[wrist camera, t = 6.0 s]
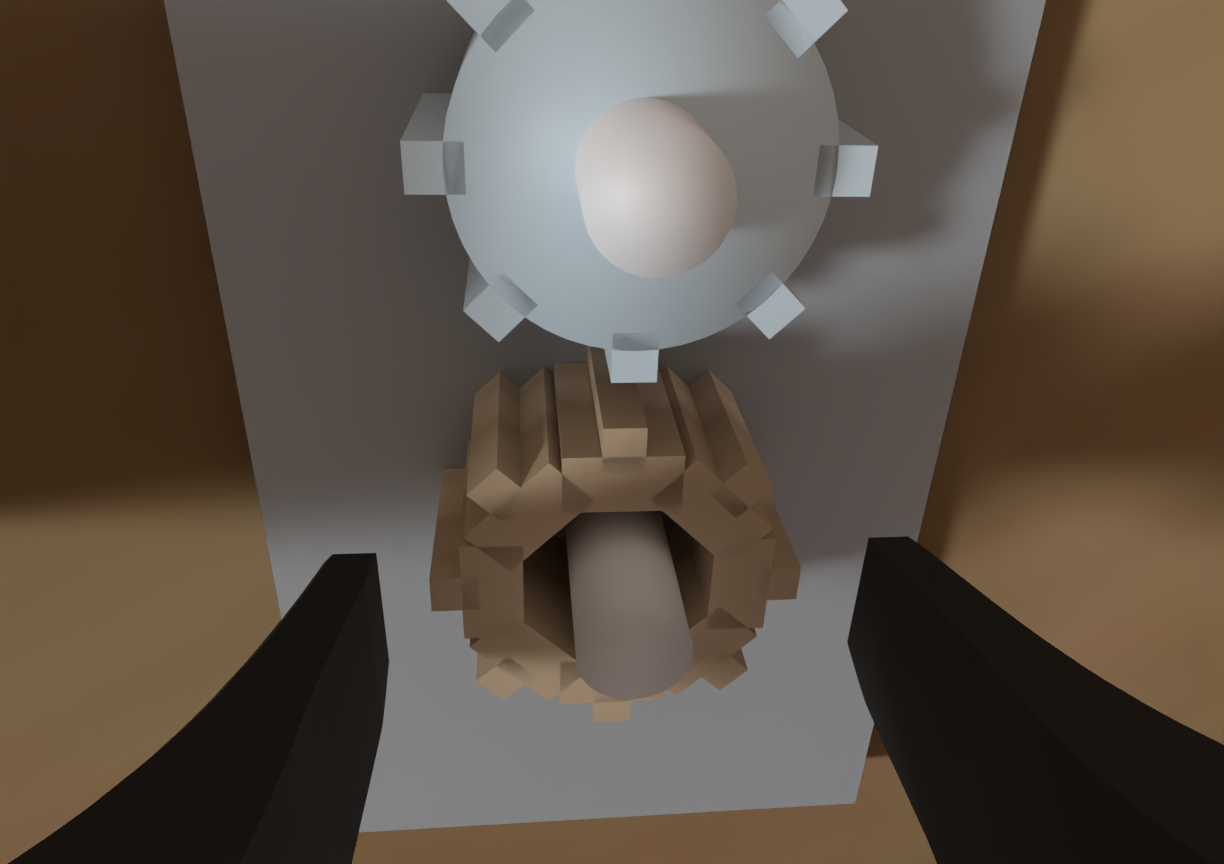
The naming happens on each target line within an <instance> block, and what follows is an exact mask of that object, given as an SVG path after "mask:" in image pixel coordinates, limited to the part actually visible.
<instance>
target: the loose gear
mask: <svg viewBox="0 0 1224 864" xmlns="http://www.w3.org/2000/svg"><path fill="white" fill-rule="evenodd" d="M773 489H774V488H773V485H772V483H771V481H770V479H769V476H768V474H767V472H766V470H765V467H764V465H763V463H762V461H761V458H760V456H759V454H758V451H757V449H756V447H755V445H754V442H753V440H752V438H751V436H750V433H749V431H748V429H747V427H746V424H745V422H744V420H743V418H742V415H741V413H740V411H739V409H738V406H737V404H736V402H735V400H734V397H733V395H732V393H731V391H730V390H729V389H728V388H727V387H726V386H725V385H724V384H723V383H722V382H721V381H720V380H719V379H718V378H717V377H716V376H715V375H714V374H713V373H712V372H711V371H710V370H708V371H706V372H705V373H704V374H703V375H702V376H701V377H699V378H698V379H697V380H696V381H695V382H693V383H692V384H691V385H690V386H689V387H688V386H687V385H686V384H685V383H684V382H683V381H682V380H681V379H680V378H679V377H678V376H677V375H676V374H675V373H674V372H673V371H672V370H670V369H669V368H668V367H665V368H664V369H663V370H662V371H661V372H660V371H659V368H658V370H657V382H644V383H611V380H610V375H609V370H608V365H607V360H606V355H605V350H604V349H603V348H597V347H592V346H588V358H587V363H554V376H552V375H551V374H550V373H549V372H548V371H547V370H546V369H545V368H542V369H541V370H540V371H538V372H537V373H536V374H535V375H534V376H533V377H532V378H531V379H530V380H529V381H527V382H526V383H525V384H524V385H523V386H522V387H521V388H520V389H519V388H518V387H517V386H516V385H515V384H514V383H512V382H511V381H510V380H509V379H508V378H507V377H506V376H504V375H503V374H502V373H501V372H499V373H498V374H497V375H495V376H494V377H493V378H492V379H491V380H490V381H489V382H488V383H487V384H486V385H485V386H484V387H483V388H481V389H480V390H479V391H478V392H477V393H476V394H475V395H474V408H473V420H472V432H471V441H468V448H467V459H466V469H443V473H442V481H441V489H440V497H439V505H438V513H437V521H436V529H435V537H434V545H433V553H432V560H431V568H430V576H429V584H430V596H431V609H432V611H461V610H463V626H464V639H468V638H470V648H471V649H473V650H474V651H476V652H477V673H476V682H478V683H479V684H481V685H482V686H484V687H485V688H487V689H488V690H490V691H491V692H493V693H494V694H496V695H497V696H499V697H500V698H502V699H503V700H505V699H506V698H507V697H509V696H510V695H511V694H512V693H514V692H515V691H516V690H517V689H519V688H520V687H521V686H523V685H526V686H527V687H529V688H530V689H532V690H533V691H535V692H536V693H538V694H539V695H540V696H542V697H543V698H545V699H546V700H548V701H550V700H551V699H552V698H554V697H555V696H556V695H558V694H559V698H560V704H572V703H592V713H593V723H595V722H616V721H630V712H631V701H641V700H664V699H665V693H666V690H665V691H663V692H661V693H658V694H656V695H653V696H649V697H645V698H640V699H618V698H613V697H609V696H606V695H603V694H601V693H599V692H597V691H595V690H594V689H592V688H591V687H590V686H589V685H587V684H586V682H585V681H584V680H583V679H582V677H581V676H580V674H579V671H578V669H577V665H576V652H575V640H574V628H573V615H572V603H571V591H570V579H569V566H568V554H567V544H565V543H564V542H563V541H562V540H560V539H559V538H558V537H556V536H555V534H556V533H557V532H558V531H559V530H561V529H562V528H563V527H564V526H565V525H567V524H568V523H569V522H570V521H571V520H573V519H574V518H575V517H576V516H577V515H579V514H580V513H589V512H631V511H663V512H664V513H666V514H667V515H666V516H665V517H663V518H662V519H663V523H664V527H665V531H666V535H667V540H668V544H669V548H670V552H671V556H672V560H673V565H674V569H675V573H676V577H677V581H678V585H679V589H680V594H681V598H682V602H683V606H684V610H685V614H686V619H687V623H688V627H689V631H690V635H691V639H692V644H693V657H692V661H691V664H690V666H689V668H688V670H687V672H686V673H685V674H684V676H683V677H682V678H681V679H680V680H679V681H678V682H677V683H675V684H674V685H673V686H671V687H670V688H668V690H669V691H670V692H672V693H673V694H674V695H678V694H679V693H680V692H682V691H683V690H684V689H686V688H687V687H689V686H690V685H691V684H693V683H694V682H695V681H697V680H698V679H700V678H701V677H702V678H704V679H705V680H706V681H708V682H709V683H710V684H711V685H713V686H714V687H715V688H717V689H718V690H719V691H720V690H721V689H722V688H724V687H725V686H727V685H728V684H729V683H731V682H732V681H734V680H735V679H736V678H738V677H739V676H741V675H742V674H743V673H745V672H746V671H747V670H748V669H747V666H746V662H745V659H744V656H743V652H742V649H741V648H742V647H743V646H745V645H746V644H748V643H749V642H750V641H752V640H753V639H754V638H756V637H757V634H756V631H755V628H763V624H764V618H765V611H766V604H767V600H788V599H796V596H797V590H798V584H799V578H800V572H801V566H800V564H799V562H798V559H797V557H796V555H795V552H794V550H793V548H792V546H791V543H790V541H789V539H788V536H787V534H786V532H785V529H784V527H783V525H782V522H781V520H780V518H779V515H778V513H777V511H776V508H775V506H774V504H773V501H772V499H771V497H770V494H769V492H770V491H772V490H773Z"/></svg>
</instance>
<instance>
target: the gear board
mask: <svg viewBox="0 0 1224 864" xmlns="http://www.w3.org/2000/svg"><path fill="white" fill-rule="evenodd" d="M1045 2H1046V0H164V4H165V9H166V15H167V20H168V25H169V30H170V36H171V41H172V46H173V51H174V57H175V62H176V67H177V72H178V78H179V83H180V88H181V93H182V99H183V104H184V109H185V114H186V120H187V125H188V130H189V135H190V140H191V146H192V151H193V156H194V161H195V167H196V172H197V177H198V182H199V188H200V193H201V198H202V203H203V209H204V214H205V219H206V224H207V230H208V235H209V240H210V245H211V251H212V256H213V261H214V266H215V272H216V277H217V282H218V287H219V293H220V298H221V303H222V308H223V314H224V319H225V324H226V329H227V335H228V340H229V345H230V350H231V356H232V361H233V366H234V371H235V376H236V382H237V387H238V392H239V397H240V403H241V408H242V413H243V418H244V424H245V429H246V434H247V439H248V445H249V450H250V455H251V460H252V466H253V471H254V476H255V481H256V487H257V492H258V497H259V502H260V508H261V513H262V518H263V523H264V529H265V534H266V539H267V544H268V550H269V555H270V560H271V565H272V571H273V576H274V581H275V586H276V591H277V597H278V602H279V607H280V612H281V618H283V617H284V616H285V614H286V613H287V612H288V611H289V609H290V608H291V607H292V605H293V604H294V603H295V602H296V600H297V599H298V598H299V596H300V595H301V594H302V592H303V591H304V590H305V588H306V587H307V586H308V584H309V583H310V581H311V580H312V579H313V577H314V576H315V575H316V573H317V572H318V570H319V569H320V568H321V566H322V565H323V563H324V562H325V561H326V560H327V559H328V558H329V557H330V556H331V555H332V554H356V553H376V555H377V563H378V572H379V580H380V588H381V597H382V605H383V614H384V622H385V630H386V639H387V647H388V655H389V668H388V679H387V689H386V699H385V709H384V718H383V726H382V731H381V736H380V740H379V745H378V749H377V754H376V758H375V763H374V767H373V772H372V776H371V781H370V785H369V789H368V794H367V798H366V802H365V807H364V811H363V816H362V820H361V824H360V829H359V832H372V831H389V830H406V829H424V828H441V827H458V826H475V825H492V824H509V823H526V822H543V821H560V820H577V819H594V818H611V817H628V816H645V815H662V814H679V813H696V812H713V811H730V810H747V809H764V808H781V807H798V806H815V805H832V804H849V803H855V801H856V797H857V793H858V789H859V784H860V780H861V776H862V772H863V768H864V763H865V759H866V755H867V751H868V747H869V742H870V738H871V734H872V730H873V726H874V721H873V719H872V717H871V715H870V712H869V710H868V708H867V705H866V703H865V700H864V697H863V694H862V691H861V688H860V684H859V681H858V678H857V675H856V671H855V668H854V664H853V661H852V657H851V654H850V650H849V647H848V643H847V640H848V635H849V631H850V626H851V621H852V616H853V611H854V606H855V601H856V596H857V592H858V587H859V582H860V577H861V572H862V567H863V562H864V557H865V553H866V548H867V543H868V538H873V537H905V536H908V537H910V538H911V539H913V540H914V541H915V542H917V541H918V536H919V532H920V528H921V524H922V520H923V515H924V511H925V507H926V503H927V499H928V494H929V490H930V486H931V482H932V478H933V473H934V469H935V465H936V461H937V457H938V452H939V448H940V444H941V440H942V435H943V431H944V427H945V423H946V419H947V414H948V410H949V406H950V402H951V398H952V393H953V389H954V385H955V381H956V377H957V372H958V368H959V364H960V360H961V356H962V351H963V347H964V343H965V339H966V335H967V330H968V326H969V322H970V318H971V314H972V309H973V305H974V301H975V297H976V293H977V288H978V284H979V280H980V276H981V272H982V267H983V263H984V259H985V255H986V251H987V246H988V242H989V238H990V234H991V230H992V225H993V221H994V217H995V213H996V208H997V204H998V200H999V196H1000V192H1001V187H1002V183H1003V179H1004V175H1005V171H1006V166H1007V162H1008V158H1009V154H1010V150H1011V145H1012V141H1013V137H1014V133H1015V129H1016V124H1017V120H1018V116H1019V112H1020V108H1021V103H1022V99H1023V95H1024V91H1025V87H1026V82H1027V78H1028V74H1029V70H1030V66H1031V61H1032V57H1033V53H1034V49H1035V45H1036V40H1037V36H1038V32H1039V28H1040V24H1041V19H1042V15H1043V11H1044V7H1045ZM588 346H592V347H597V348H603V349H604V350H605V355H606V360H607V365H608V370H609V375H610V380H611V383H644V382H657V370H658V368H659V371H660V372H661V371H662V370H663V369H664V368H665V367H668V368H669V369H670V370H672V371H673V372H674V373H675V374H676V375H677V376H678V377H679V378H680V379H681V380H682V381H683V382H684V383H685V384H686V385H687V386H688V387H689V386H690V385H691V384H692V383H693V382H695V381H696V380H697V379H698V378H699V377H701V376H702V375H703V374H704V373H705V372H706V371H708V370H710V371H711V372H712V373H713V374H714V375H715V376H716V377H717V378H718V379H719V380H720V381H721V382H722V383H723V384H724V385H725V386H726V387H727V388H728V389H729V390H730V391H731V393H732V395H733V397H734V400H735V402H736V404H737V406H738V409H739V411H740V413H741V415H742V418H743V420H744V422H745V424H746V427H747V429H748V431H749V433H750V436H751V438H752V440H753V442H754V445H755V447H756V449H757V451H758V454H759V456H760V458H761V461H762V463H763V465H764V467H765V470H766V472H767V474H768V476H769V479H770V481H771V483H772V485H773V488H774V489H773V490H772V491H770V492H769V494H770V497H771V499H772V501H773V504H774V506H775V508H776V511H777V513H778V515H779V518H780V520H781V522H782V525H783V527H784V529H785V532H786V534H787V536H788V539H789V541H790V543H791V546H792V548H793V550H794V552H795V555H796V557H797V559H798V562H799V564H800V566H801V572H800V578H799V584H798V590H797V596H796V599H788V600H767V604H766V611H765V618H764V624H763V628H755V631H756V634H757V637H756V638H754V639H753V640H752V641H750V642H749V643H748V644H746V645H745V646H743V647H742V648H741V649H742V652H743V656H744V659H745V662H746V666H747V669H748V670H747V671H746V672H745V673H743V674H742V675H741V676H739V677H738V678H736V679H735V680H734V681H732V682H731V683H729V684H728V685H727V686H725V687H724V688H722V689H721V690H720V691H719V690H718V689H717V688H715V687H714V686H713V685H711V684H710V683H709V682H708V681H706V680H705V679H704V678H702V677H701V678H700V679H698V680H697V681H695V682H694V683H693V684H691V685H690V686H689V687H687V688H686V689H684V690H683V691H682V692H680V693H679V694H678V695H674V694H673V693H672V692H670V691H669V690H668V688H670V687H671V686H673V685H674V684H675V683H677V682H678V681H679V680H680V679H681V678H682V677H683V676H684V674H685V673H686V672H687V670H688V668H689V666H690V664H691V661H692V657H693V644H692V639H691V635H690V631H689V627H688V623H687V619H686V614H685V610H684V606H683V602H682V598H681V594H680V589H679V585H678V581H677V577H676V573H675V569H674V565H673V560H672V556H671V552H670V548H669V544H668V540H667V535H666V531H665V527H664V523H663V519H662V518H663V517H665V516H666V515H667V514H666V513H664V512H663V511H631V512H589V513H580V514H579V515H577V516H576V517H575V518H574V519H573V520H571V521H570V522H569V523H568V524H567V525H565V526H564V527H563V528H562V529H561V530H559V531H558V532H557V533H556V534H555V536H556V537H558V538H559V539H560V540H562V541H563V542H564V543H565V544H567V554H568V566H569V579H570V591H571V603H572V615H573V628H574V640H575V652H576V665H577V669H578V671H579V674H580V676H581V677H582V679H583V680H584V681H585V682H586V684H587V685H589V686H590V687H591V688H592V689H594V690H595V691H597V692H599V693H601V694H603V695H606V696H609V697H613V698H618V699H640V698H645V697H649V696H653V695H656V694H658V693H661V692H663V691H665V690H666V693H665V699H664V700H641V701H631V712H630V721H616V722H595V723H593V713H592V703H572V704H560V698H559V694H558V695H556V696H555V697H554V698H552V699H551V700H550V701H548V700H546V699H545V698H543V697H542V696H540V695H539V694H538V693H536V692H535V691H533V690H532V689H530V688H529V687H527V686H526V685H523V686H521V687H520V688H519V689H517V690H516V691H515V692H514V693H512V694H511V695H510V696H509V697H507V698H506V699H505V700H503V699H502V698H500V697H499V696H497V695H496V694H494V693H493V692H491V691H490V690H488V689H487V688H485V687H484V686H482V685H481V684H479V683H478V682H476V673H477V652H476V651H474V650H473V649H471V648H470V638H468V639H464V626H463V610H461V611H432V609H431V596H430V584H429V576H430V568H431V560H432V553H433V545H434V537H435V529H436V521H437V513H438V505H439V497H440V489H441V481H442V473H443V469H466V459H467V448H468V441H471V432H472V420H473V408H474V395H475V394H476V393H477V392H478V391H479V390H480V389H481V388H483V387H484V386H485V385H486V384H487V383H488V382H489V381H490V380H491V379H492V378H493V377H494V376H495V375H497V374H498V373H499V372H501V373H502V374H503V375H504V376H506V377H507V378H508V379H509V380H510V381H511V382H512V383H514V384H515V385H516V386H517V387H518V388H519V389H520V388H521V387H522V386H523V385H524V384H525V383H526V382H527V381H529V380H530V379H531V378H532V377H533V376H534V375H535V374H536V373H537V372H538V371H540V370H541V369H542V368H545V369H546V370H547V371H548V372H549V373H550V374H551V375H552V376H554V363H587V358H588Z"/></svg>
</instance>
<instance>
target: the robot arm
mask: <svg viewBox="0 0 1224 864" xmlns="http://www.w3.org/2000/svg"><path fill="white" fill-rule="evenodd" d="M847 643H848V647H849V650H850V654H851V657H852V661H853V664H854V668H855V671H856V675H857V678H858V681H859V684H860V688H861V691H862V694H863V697H864V700H865V703H866V705H867V708H868V710H869V712H870V715H871V717H872V719H873V721H874V724H875V726H876V728H877V730H878V733H879V735H880V737H881V739H882V741H883V744H884V746H885V748H886V750H887V752H888V755H889V757H890V759H891V761H892V763H893V765H894V768H895V770H896V772H897V774H898V776H899V779H900V781H901V783H902V785H903V787H904V789H905V792H906V794H907V796H908V798H909V800H910V802H911V805H912V807H913V809H914V811H915V813H916V815H917V818H918V820H919V822H920V824H921V826H922V828H923V831H924V833H925V835H926V837H927V840H928V842H929V845H930V847H931V850H932V852H933V854H934V857H935V859H936V862H937V864H1224V745H1222V744H1220V743H1218V742H1217V741H1215V740H1213V739H1211V738H1209V737H1207V736H1205V735H1203V734H1201V733H1199V732H1197V731H1195V730H1193V729H1191V728H1189V727H1187V726H1185V725H1183V724H1181V723H1179V722H1177V721H1175V720H1173V719H1171V718H1170V717H1168V716H1166V715H1164V714H1162V713H1160V712H1159V711H1157V710H1155V709H1153V708H1151V707H1149V706H1148V705H1146V704H1144V703H1143V702H1141V701H1139V700H1138V699H1136V698H1134V697H1133V696H1131V695H1129V694H1127V693H1126V692H1124V691H1122V690H1121V689H1119V688H1117V687H1116V686H1114V685H1112V684H1111V683H1109V682H1107V681H1105V680H1104V679H1102V678H1101V677H1099V676H1098V675H1096V674H1094V673H1093V672H1091V671H1090V670H1088V669H1087V668H1085V667H1083V666H1082V665H1080V664H1079V663H1077V662H1076V661H1075V660H1073V659H1072V658H1070V657H1069V656H1067V655H1066V654H1064V653H1063V652H1061V651H1060V650H1058V649H1057V648H1055V647H1054V646H1053V645H1051V644H1050V643H1048V642H1047V641H1045V640H1044V639H1042V638H1041V637H1040V636H1038V635H1037V634H1036V633H1034V632H1033V631H1031V630H1030V629H1029V628H1027V627H1026V626H1024V625H1023V624H1022V623H1020V622H1019V621H1018V620H1016V619H1015V618H1014V617H1012V616H1011V615H1010V614H1008V613H1007V612H1006V611H1004V610H1003V609H1002V608H1000V607H999V606H998V605H997V604H995V603H994V602H993V601H991V600H990V599H989V598H987V597H986V596H985V595H984V594H982V593H981V592H980V591H978V590H977V589H976V588H975V587H973V586H972V585H971V584H970V583H968V582H967V581H966V580H964V579H963V578H962V577H961V576H959V575H958V574H957V573H956V572H954V571H953V570H952V569H951V568H949V567H948V566H947V565H945V564H944V563H943V562H942V561H940V560H939V559H938V558H937V557H935V556H934V555H933V554H931V553H930V552H929V551H928V550H926V549H925V548H924V547H922V546H921V545H920V544H918V543H917V542H915V541H914V540H913V539H911V538H910V537H908V536H905V537H873V538H868V543H867V548H866V553H865V557H864V562H863V567H862V572H861V577H860V582H859V587H858V592H857V596H856V601H855V606H854V611H853V616H852V621H851V626H850V631H849V635H848V640H847ZM388 668H389V655H388V647H387V639H386V630H385V622H384V614H383V605H382V597H381V588H380V580H379V572H378V563H377V555H376V553H356V554H332V555H331V556H330V557H329V558H328V559H327V560H326V561H325V562H324V563H323V565H322V566H321V568H320V569H319V570H318V572H317V573H316V575H315V576H314V577H313V579H312V580H311V581H310V583H309V584H308V586H307V587H306V588H305V590H304V591H303V592H302V594H301V595H300V596H299V598H298V599H297V600H296V602H295V603H294V604H293V605H292V607H291V608H290V609H289V611H288V612H287V613H286V614H285V616H284V617H283V618H282V620H281V621H280V622H279V623H278V624H277V626H276V627H275V628H274V629H273V631H272V632H271V633H270V634H269V635H268V637H267V638H266V639H265V640H264V641H263V643H262V644H261V645H260V646H259V648H258V649H257V650H256V651H255V652H254V654H253V655H252V656H251V657H250V658H249V659H248V660H247V662H246V663H245V664H244V665H243V666H242V667H241V668H240V669H239V670H238V671H237V672H236V674H235V675H234V676H233V677H232V678H231V679H230V680H229V681H228V682H227V683H226V684H225V685H224V687H223V688H222V689H221V690H220V691H219V692H218V693H217V694H216V695H215V696H214V697H213V699H212V700H211V701H210V702H209V703H208V704H207V705H206V706H205V707H204V708H203V709H202V710H201V711H200V712H199V713H198V714H197V715H196V716H195V717H194V718H193V719H192V720H191V721H190V722H189V723H188V724H186V725H185V726H184V727H183V728H182V729H181V730H180V731H179V732H178V733H177V734H176V735H175V736H174V737H173V738H172V739H170V740H169V741H168V742H167V743H166V744H165V745H164V746H163V747H162V748H161V749H160V750H158V751H157V752H156V753H155V754H154V755H153V756H152V757H151V758H149V759H148V760H147V761H146V762H145V763H143V764H142V765H141V766H140V767H139V768H137V769H136V770H135V771H134V772H133V773H131V774H130V775H129V776H128V777H126V778H125V779H124V780H123V781H121V782H120V783H119V784H118V785H116V786H115V787H114V788H113V789H111V790H110V791H109V792H108V793H106V794H105V795H104V796H102V797H101V798H100V799H99V800H97V801H96V802H95V803H94V804H92V805H91V806H90V807H89V808H87V809H86V810H85V811H83V812H82V813H80V814H79V815H78V816H76V817H75V818H74V819H72V820H71V821H69V822H68V823H67V824H65V825H64V826H62V827H61V828H60V829H58V830H57V831H55V832H54V833H53V834H51V835H50V836H48V837H47V838H45V839H44V840H42V841H41V842H39V843H38V844H36V845H35V846H33V847H32V848H30V849H29V850H28V851H26V852H25V853H23V854H22V855H20V856H19V857H17V858H16V859H14V860H13V861H11V862H10V863H8V864H352V859H353V855H354V850H355V846H356V842H357V837H358V833H359V829H360V824H361V820H362V816H363V811H364V807H365V802H366V798H367V794H368V789H369V785H370V781H371V776H372V772H373V767H374V763H375V758H376V754H377V749H378V745H379V740H380V736H381V731H382V726H383V718H384V709H385V699H386V689H387V679H388Z"/></svg>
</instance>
